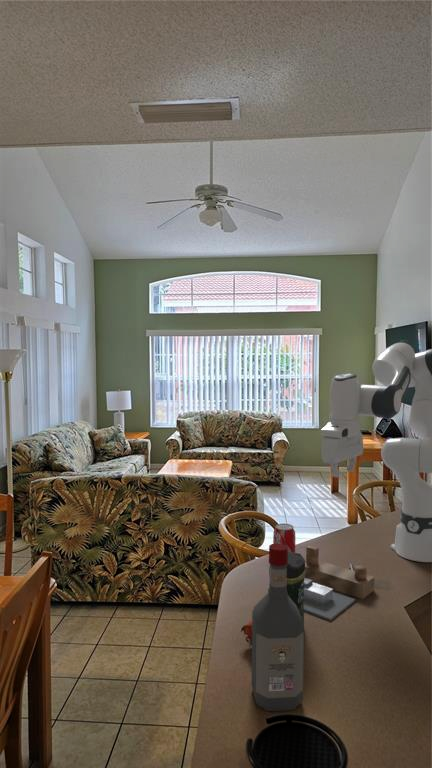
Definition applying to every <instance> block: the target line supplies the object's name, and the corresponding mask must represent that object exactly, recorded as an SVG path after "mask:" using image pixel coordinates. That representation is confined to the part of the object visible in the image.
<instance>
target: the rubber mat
mask: <svg viewBox="0 0 432 768" xmlns="http://www.w3.org/2000/svg"><path fill="white" fill-rule="evenodd" d="M356 600H357V599H356V598H353V597H350V596H347V595H346V594H345V595H344V594H341V593H339V592H336V591H333V600H332V601H331V602H329V603H328V604H327V605H325V606H321V605H318V604H316V603H313V602H310V601H307V600H304V613H309V614H311V615H313V616H316V617H319V618H321V619H324V620H327V621H330V622H331V621H333V620H334V619H335V618H337V617H339V616H340V614H342V613H343V612H345V610H347V609H348V608H349V607H350V606H351V605H353V604H354V603H355V602H356Z"/></svg>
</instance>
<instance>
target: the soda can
mask: <svg viewBox="0 0 432 768" xmlns="http://www.w3.org/2000/svg"><path fill="white" fill-rule="evenodd" d="M294 528H295V527H294V526H293V524H290V523H278V524H276V525H275V528H274V530H273V535H272V536H273V537H272V538H273V541H272V544H276V543H277V544H284V545H286V546H288V551H290V552H294V553H296V530H295V529H294Z"/></svg>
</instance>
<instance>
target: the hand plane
mask: <svg viewBox="0 0 432 768" xmlns="http://www.w3.org/2000/svg"><path fill="white" fill-rule="evenodd" d="M319 548H320V547H318V546H314V545H308V546H306V550H305V551H306V552H305V553H306V556H305V578H307V579H310V580H313V582H314V583H317V584H320V585H323V586H326V587H329V588H332V589H333V591H337V592H340V593H343V594H345V595H349V596H352V597H355V598H358V599H361V600H364V599H365V598H366V597H368V596H369V595H370V594H371V593H373V592H374V590H375V576H372V575H369V574H367V570H368V569H367V567H366V566H364V565H356V566H354V570H353V569H349V568H345V567H342V566H339V565H336V564H332V563H329V562H325V561H322V560H319Z"/></svg>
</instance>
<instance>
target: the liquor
mask: <svg viewBox="0 0 432 768" xmlns="http://www.w3.org/2000/svg"><path fill="white" fill-rule="evenodd" d="M268 564H269V567H270V577H269V587H268V589H267V594H266V595H264V597H262V599H260V600H259V601H258V602H257V603H256V604H255V605H254V607H253V610H252V611H251V613H252V615H251V617H252V618H251V619H252V620H251V621H252V646H251V687H252V693H253V696H254V699H255V704H256V705H257V706H258V707H259V708H261V709H263V710H265V711H267V712H281V711H282V712H284V711H294V710H295V709H296V708H297V707H298V706H300V704H301V703H302V701H303V700H304V655H305V654H304V652H305V651H304V647H305V644H304V643H305V640H304V639H305V621H304V622H303V619H302V616H301V614H300V612H299V610H298V608H297V606H296V604H295V603H294V602H293V601H292V600H291V598H290V597H289V596H288V593H287V565H286V564H288V546H286V545H284V544H277V543H276V544H273V543H272V544H270V545H269V547H268Z"/></svg>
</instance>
